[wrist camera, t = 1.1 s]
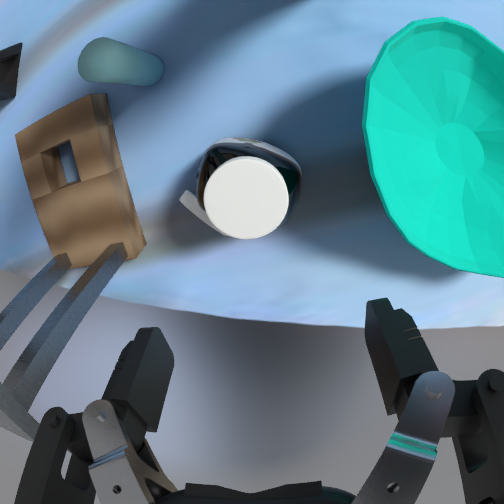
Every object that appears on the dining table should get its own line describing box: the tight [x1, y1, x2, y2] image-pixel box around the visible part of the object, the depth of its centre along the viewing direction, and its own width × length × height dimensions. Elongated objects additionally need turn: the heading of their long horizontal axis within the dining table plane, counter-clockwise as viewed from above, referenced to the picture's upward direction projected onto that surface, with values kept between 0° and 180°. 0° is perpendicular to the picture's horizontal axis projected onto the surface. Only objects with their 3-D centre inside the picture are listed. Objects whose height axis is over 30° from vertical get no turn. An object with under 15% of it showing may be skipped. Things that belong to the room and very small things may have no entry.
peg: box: [78, 37, 164, 86], centre depth 22 cm, size 4×4×12 cm
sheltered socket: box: [0, 94, 146, 442], centre depth 21 cm, size 22×14×30 cm, turn 10°
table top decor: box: [362, 17, 504, 278], centre depth 24 cm, size 40×28×13 cm
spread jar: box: [179, 138, 302, 239], centre depth 29 cm, size 12×11×12 cm
